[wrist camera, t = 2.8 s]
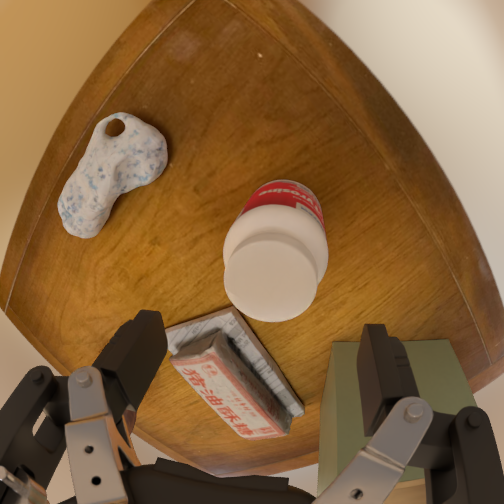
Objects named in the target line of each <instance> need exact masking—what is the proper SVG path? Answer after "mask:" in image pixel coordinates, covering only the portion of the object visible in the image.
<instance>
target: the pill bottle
mask: <svg viewBox="0 0 504 504" xmlns="http://www.w3.org/2000/svg"><path fill="white" fill-rule="evenodd" d="M223 258H224V264H225V267H226V268H225V271H224V286H225V290H226V293H227V295H228V297H229V299H230V300H231V302H232V303H233V304H234V306H235V307H236V308H237V309H239V310H240V311H241V312H243V313H244V314H245V315H247V316H249V317H251V318H254V319H257V320H260V321H265V322H281V321H286V320H289V319H292V318H294V317H297V316H298V315H300V314H302V313H303V312H304V311H305V310H306V309H307V308H308V307H309V306H310V305H311V303H312V301H313V300H314V298H315V295H316V291H317V285H318V284H319V283H320V281H321V280H322V278H323V276H324V274H325V271H326V268H327V264H328V245H327V239H326V232H325V226H324V220H323V215H322V210H321V206H320V204H319V201H318V199H317V198H316V196H315V195H314V194H313V192H312V191H311V190H309V189H308V188H307V187H305V186H304V185H302V184H300V183H298V182H295V181H291V180H275V181H271V182H268V183H266V184H264V185H262V186H261V187H260V188H258V189H257V190H256V191H255V192H254V193H253V195H252V196H251V197H250V199H249V200H248V202H247V203H246V205H245V206H244V208H243V209H242V211H241V212H240V214H239V215H238V217H237V219H236V220H235V222H234V223H233V225H232V226H231V228H230V229H229V232H228V234H227V236H226V239H225V243H224V248H223Z"/></svg>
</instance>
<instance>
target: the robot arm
mask: <svg viewBox="0 0 504 504" xmlns="http://www.w3.org/2000/svg"><path fill="white" fill-rule="evenodd" d="M167 349H168V340H167V336H166V332H165V328H164V324H163V320H162V316H161V313H160V312H159V311H151V310H140V311H139V313H138V314H137V315H136V317H135V318H134V319H133V320H129V321H128V322H126V323H125V324H123V325H122V326H120V328H119V329H118V330H117V332H116V333H115V334H114V336H113V337H112V338H111V340H110V341H109V343H108V344H107V345H106V346H105V348H104V349H103V350H102V352H101V353H100V355H99V356H98V357H97V359H96V360H95V361H94V363H93V364H92V366H84V367H81V368H78V369H77V370H75V371H74V372H73V373H72V374H71V375H70V376H54V375H53V373H52V371H51V370H50V368H49V367H47V366H37V367H35V368H32V369H31V370H30V371H28V373H27V374H26V375H25V377H24V378H23V379H22V381H21V382H20V383H19V385H18V386H17V387H16V389H15V390H14V392H13V393H12V394H11V396H10V397H9V398H8V400H7V401H6V403H5V404H4V406H3V407H2V409H1V410H0V504H50V503H49V501H48V500H47V494H46V489H47V487H48V485H49V482H50V480H51V478H52V476H53V474H54V472H55V470H56V468H57V466H58V464H59V462H60V460H61V458H62V456H63V454H64V451H65V450H66V448H67V451H68V458H69V464H70V470H71V476H72V481H73V485H74V490H75V495H76V496H74V497H71V498H70V499H67V500H65V501H63V502H60V503H58V504H383V503H384V501H385V500H386V499H387V497H388V496H389V494H390V493H391V492H392V490H393V489H394V487H395V486H396V484H397V483H398V481H399V480H400V478H401V477H402V475H403V474H404V472H405V468H406V466H412V467H418V468H424V476H425V488H426V504H504V475H503V470H502V465H501V461H500V456H499V452H498V449H497V444H496V441H495V437H494V433H493V430H492V427H491V423H490V420H489V417H488V415H487V414H486V413H485V412H484V411H483V410H482V409H480V408H478V407H475V406H467V407H464V408H462V409H461V410H460V411H459V412H458V413H457V415H453V414H446V413H440V412H436V411H433V410H432V407H431V406H430V404H429V403H428V402H426V401H425V400H424V399H422V398H420V395H419V391H418V388H417V384H416V381H415V378H414V374H413V371H412V368H411V366H410V362H409V359H408V355H407V352H406V349H405V346H404V345H403V344H402V343H401V342H400V340H399V339H398V338H397V337H388V333H387V330H386V327H385V325H384V324H365V325H364V327H363V332H362V336H361V341H360V345H359V349H358V353H357V363H356V366H357V375H358V382H359V390H360V398H361V407H362V416H363V426H364V437H372V436H373V437H372V438H371V439H370V441H369V442H368V443H367V444H366V446H365V447H364V448H361V449H360V450H359V452H358V453H357V454H356V455H355V456H354V458H353V459H352V460H351V461H350V462H349V463H348V465H347V466H346V467H345V468H344V469H343V470H342V472H341V473H340V474H339V475H338V476H337V477H336V478H335V479H334V480H333V482H332V483H331V484H330V485H329V486H328V487H327V488H326V489H325V490H324V491H323V492H322V493H321V494H320V495H319V496H318V497H317V498H316V497H314V496H312V495H311V494H310V493H308V492H306V491H304V490H302V489H299V488H297V487H293V486H290V485H288V481H289V478H284V477H269V476H259V475H251V476H240V477H226V478H219V477H215V476H213V475H210V474H208V473H206V472H203V471H201V470H199V469H197V468H194V467H192V466H190V465H188V464H184V463H180V462H175V461H171V460H167V459H163V458H159V457H158V458H157V461H156V463H155V464H148V465H141V463H140V462H139V460H138V458H137V456H136V453H135V451H134V448H133V444H132V441H131V438H130V435H129V431H128V428H127V425H126V421H125V418H124V416H123V414H124V412H125V410H126V409H127V410H131V411H134V412H136V411H137V409H138V407H139V405H140V403H141V401H142V399H143V397H144V395H145V393H146V392H147V390H148V388H149V386H150V384H151V382H152V380H153V378H154V376H155V374H156V372H157V370H158V368H159V366H160V365H161V363H162V361H163V359H164V357H165V355H166V353H167ZM42 411H43V412H44V413H45V414H46V417H45V419H44V421H43V422H42V424H41V426H40V427H39V429H38V431H37V432H36V434H35V436H33V433H32V429H33V426H34V424H35V422H36V421H37V419H38V417H39V416H40V414H41V413H42Z"/></svg>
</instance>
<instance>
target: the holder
mask: <svg viewBox="0 0 504 504" xmlns="http://www.w3.org/2000/svg"><path fill="white" fill-rule="evenodd" d="M383 504H426V488H425V478H422V479H417V480H411V481H404V482H398V483H397V484H396V486H395V487H394V489H393V490H392V492H391V493H390V494H389V496H388V497H387V499H386V500H385V501H384V503H383Z"/></svg>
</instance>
